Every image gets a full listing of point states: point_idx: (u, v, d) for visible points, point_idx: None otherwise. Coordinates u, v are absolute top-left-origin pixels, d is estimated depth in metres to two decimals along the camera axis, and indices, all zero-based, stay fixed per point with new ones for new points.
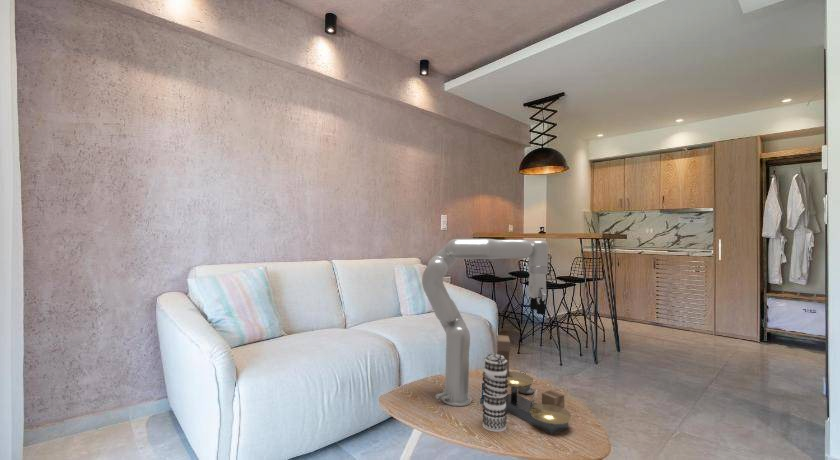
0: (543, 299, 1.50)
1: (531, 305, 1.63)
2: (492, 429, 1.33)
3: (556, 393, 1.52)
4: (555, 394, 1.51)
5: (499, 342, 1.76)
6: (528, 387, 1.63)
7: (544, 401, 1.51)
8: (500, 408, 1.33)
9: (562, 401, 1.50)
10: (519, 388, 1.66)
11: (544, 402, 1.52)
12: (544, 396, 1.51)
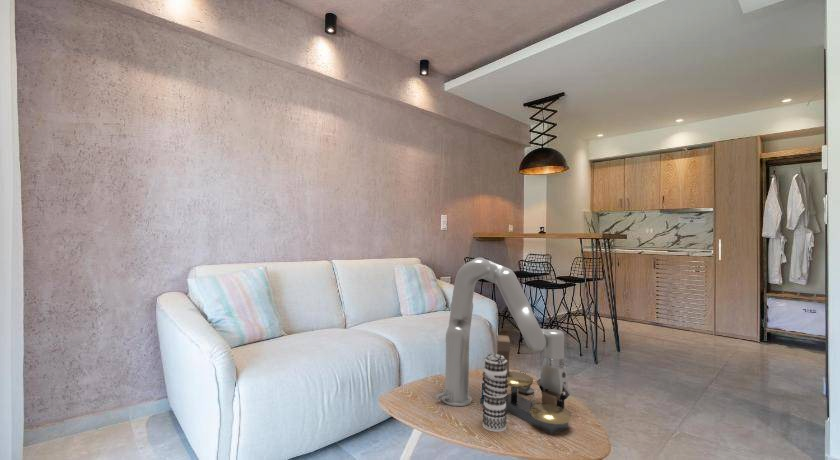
0: None
1: None
2: (492, 429, 1.33)
3: (556, 393, 1.52)
4: (555, 394, 1.51)
5: (499, 342, 1.76)
6: (528, 387, 1.63)
7: (544, 401, 1.51)
8: (500, 408, 1.33)
9: None
10: (519, 388, 1.66)
11: (544, 402, 1.52)
12: (544, 396, 1.52)
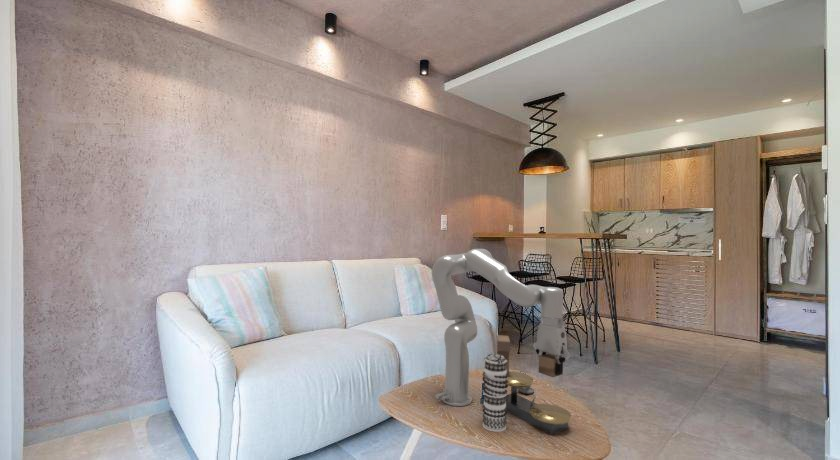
0: None
1: None
2: (492, 429, 1.33)
3: (554, 356, 1.39)
4: (553, 357, 1.38)
5: (499, 342, 1.76)
6: (528, 387, 1.63)
7: (541, 364, 1.38)
8: (500, 408, 1.33)
9: None
10: (519, 388, 1.66)
11: (541, 365, 1.39)
12: (541, 359, 1.38)
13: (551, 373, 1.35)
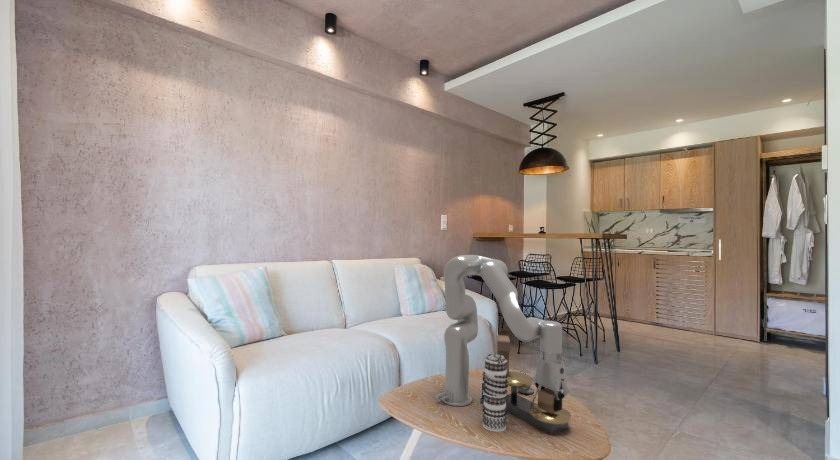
0: None
1: None
2: (492, 429, 1.33)
3: (553, 391, 1.38)
4: (552, 392, 1.37)
5: (499, 342, 1.76)
6: (528, 387, 1.64)
7: (540, 399, 1.37)
8: (500, 408, 1.33)
9: None
10: (519, 388, 1.66)
11: (540, 401, 1.38)
12: (540, 394, 1.37)
13: (549, 410, 1.34)
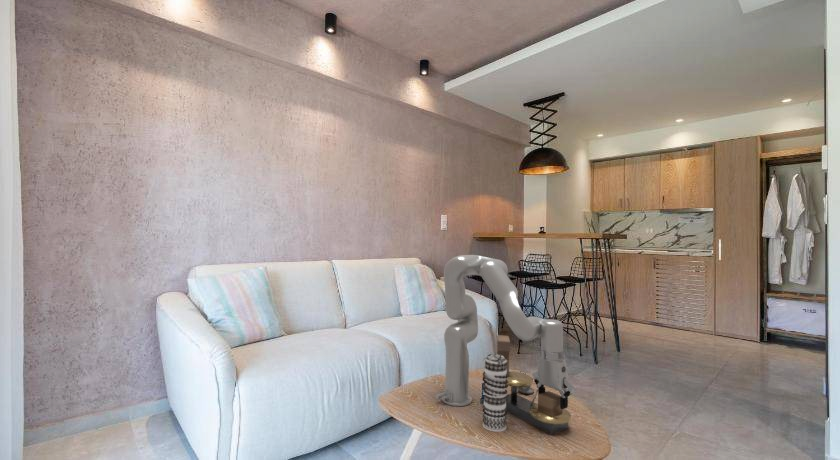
0: None
1: None
2: (492, 429, 1.33)
3: (554, 394, 1.38)
4: (552, 396, 1.37)
5: (499, 342, 1.76)
6: (528, 387, 1.64)
7: (540, 403, 1.37)
8: (500, 408, 1.33)
9: None
10: (519, 388, 1.66)
11: (540, 404, 1.37)
12: (540, 398, 1.37)
13: (550, 414, 1.34)
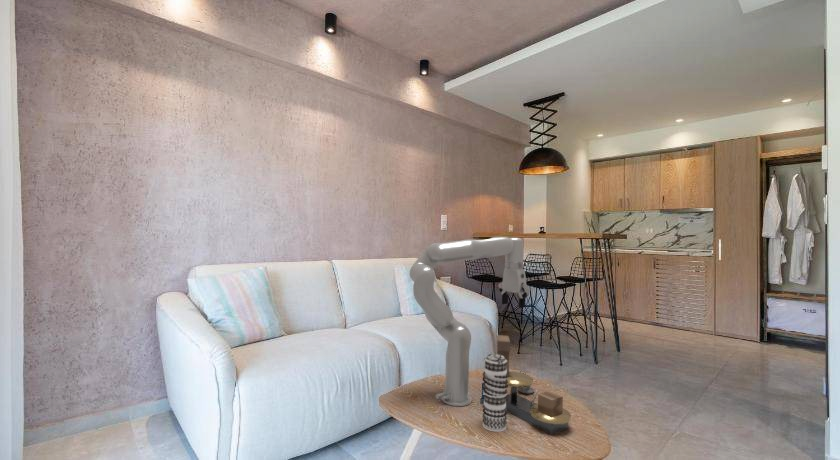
0: None
1: None
2: (492, 429, 1.33)
3: (554, 394, 1.38)
4: (552, 396, 1.37)
5: (499, 342, 1.76)
6: (528, 387, 1.64)
7: (540, 403, 1.37)
8: (500, 408, 1.33)
9: (561, 403, 1.36)
10: (519, 388, 1.66)
11: (540, 404, 1.37)
12: (540, 398, 1.37)
13: (550, 414, 1.34)
